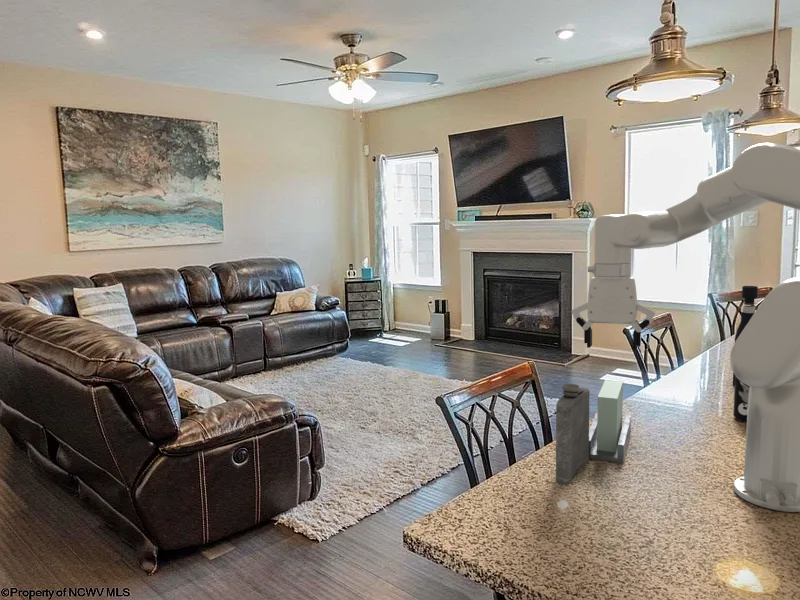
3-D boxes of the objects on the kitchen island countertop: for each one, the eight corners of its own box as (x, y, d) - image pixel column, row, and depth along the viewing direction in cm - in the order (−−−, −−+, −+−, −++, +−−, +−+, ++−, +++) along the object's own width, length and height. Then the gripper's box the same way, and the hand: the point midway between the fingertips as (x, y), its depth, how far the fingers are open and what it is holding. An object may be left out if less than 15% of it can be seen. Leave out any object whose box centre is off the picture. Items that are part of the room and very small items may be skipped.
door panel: (616, 452, 124) (617, 398, 123) (596, 449, 126) (597, 396, 124) (621, 430, 137) (623, 381, 135) (604, 428, 138) (605, 380, 137)
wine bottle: (762, 387, 170) (768, 286, 166) (747, 390, 168) (752, 288, 164) (742, 382, 176) (747, 284, 172) (727, 384, 174) (732, 286, 170)
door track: (623, 463, 121) (623, 445, 120) (584, 457, 124) (584, 440, 124) (630, 431, 139) (631, 415, 138) (596, 427, 142) (596, 411, 142)
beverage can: (768, 424, 140) (771, 376, 139) (738, 423, 142) (741, 376, 140) (757, 415, 147) (760, 369, 145) (729, 414, 148) (731, 369, 147)
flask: (549, 481, 114) (550, 393, 111) (573, 456, 125) (574, 376, 123) (567, 485, 112) (568, 396, 109) (590, 459, 123) (591, 378, 121)
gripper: (569, 272, 127) (569, 349, 129) (654, 272, 119) (653, 353, 121) (574, 270, 133) (574, 342, 135) (656, 269, 126) (655, 346, 128)
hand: (611, 347), depth 128 cm, fingers open, 9 cm apart
